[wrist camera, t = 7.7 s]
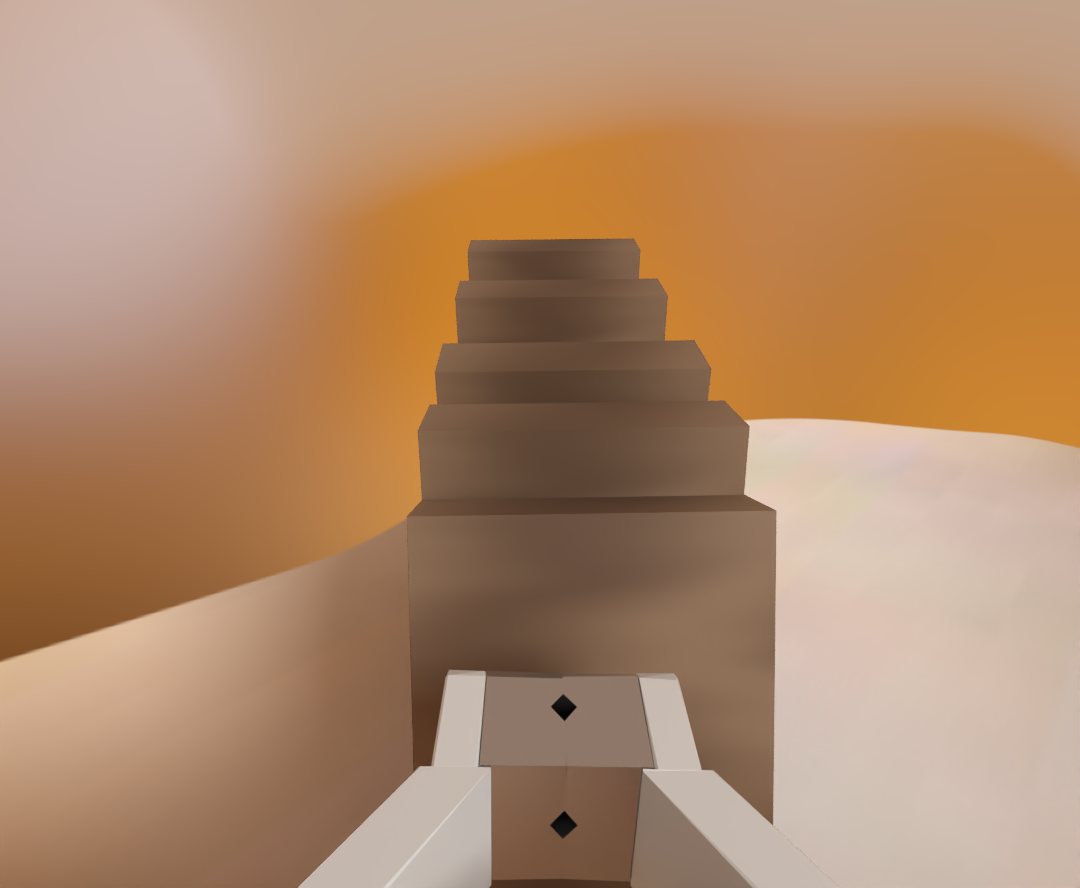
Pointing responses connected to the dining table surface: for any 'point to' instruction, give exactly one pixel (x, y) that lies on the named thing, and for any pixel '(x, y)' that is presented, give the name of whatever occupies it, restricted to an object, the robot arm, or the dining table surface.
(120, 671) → the dining table surface
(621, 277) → the domino
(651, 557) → the domino
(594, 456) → the domino
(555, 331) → the domino
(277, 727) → the dining table surface
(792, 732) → the dining table surface
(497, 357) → the domino
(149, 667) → the dining table surface
